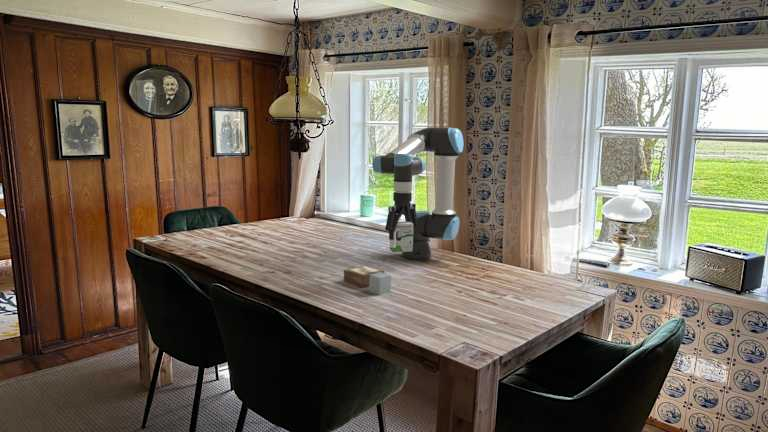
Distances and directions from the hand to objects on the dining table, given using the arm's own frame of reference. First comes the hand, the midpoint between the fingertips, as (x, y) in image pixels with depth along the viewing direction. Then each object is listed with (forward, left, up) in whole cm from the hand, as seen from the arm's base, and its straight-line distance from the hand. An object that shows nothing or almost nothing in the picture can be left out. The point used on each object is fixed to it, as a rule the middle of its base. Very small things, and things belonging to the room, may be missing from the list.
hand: (401, 245), depth 221 cm
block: (+14, +2, -16) cm, 22 cm away
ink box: (0, 0, -2) cm, 2 cm away
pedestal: (+10, -12, -16) cm, 22 cm away
